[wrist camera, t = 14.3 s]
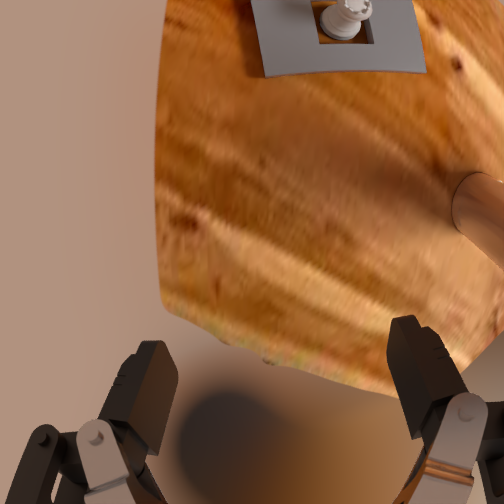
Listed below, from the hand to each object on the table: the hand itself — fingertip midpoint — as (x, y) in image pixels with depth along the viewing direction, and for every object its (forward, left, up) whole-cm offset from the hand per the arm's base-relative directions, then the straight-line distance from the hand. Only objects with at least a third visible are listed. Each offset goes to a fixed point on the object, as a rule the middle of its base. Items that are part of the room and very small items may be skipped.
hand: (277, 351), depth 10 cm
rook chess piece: (-10, -17, -26) cm, 33 cm away
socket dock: (-10, -19, -26) cm, 34 cm away
